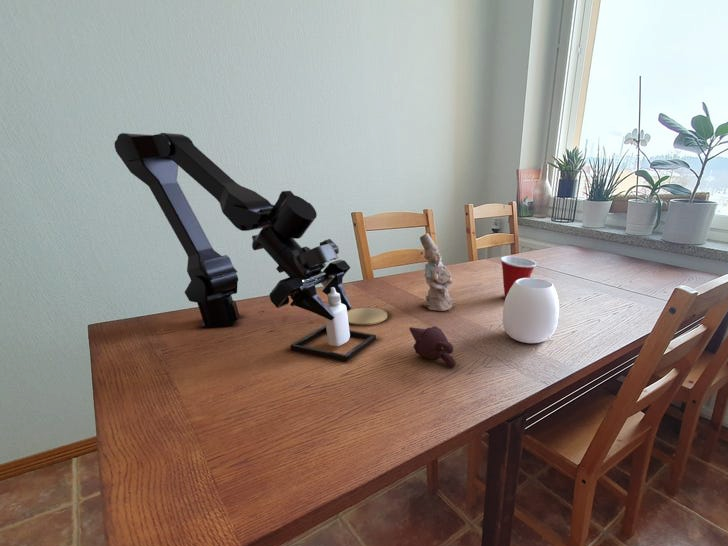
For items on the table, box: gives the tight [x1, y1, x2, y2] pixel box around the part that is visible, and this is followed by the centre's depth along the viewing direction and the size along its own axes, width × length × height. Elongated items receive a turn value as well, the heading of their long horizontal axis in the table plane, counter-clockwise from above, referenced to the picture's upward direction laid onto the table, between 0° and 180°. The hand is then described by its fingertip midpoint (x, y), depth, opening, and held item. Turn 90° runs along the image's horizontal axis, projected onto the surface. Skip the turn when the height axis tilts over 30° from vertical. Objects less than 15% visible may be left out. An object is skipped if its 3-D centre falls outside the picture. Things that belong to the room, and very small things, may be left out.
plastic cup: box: [500, 255, 537, 299], centre depth 113 cm, size 11×11×12 cm
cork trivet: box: [347, 307, 388, 326], centre depth 96 cm, size 11×11×1 cm
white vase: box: [501, 277, 560, 344], centre depth 88 cm, size 13×13×14 cm
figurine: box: [419, 232, 453, 312], centre depth 101 cm, size 9×8×20 cm
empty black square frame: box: [289, 325, 377, 363], centre depth 82 cm, size 13×11×1 cm
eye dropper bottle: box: [324, 287, 351, 347], centre depth 78 cm, size 4×6×12 cm
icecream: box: [408, 326, 457, 368], centre depth 78 cm, size 7×7×15 cm
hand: (341, 314), depth 78 cm, fingers closed on eye dropper bottle, 5 cm apart
